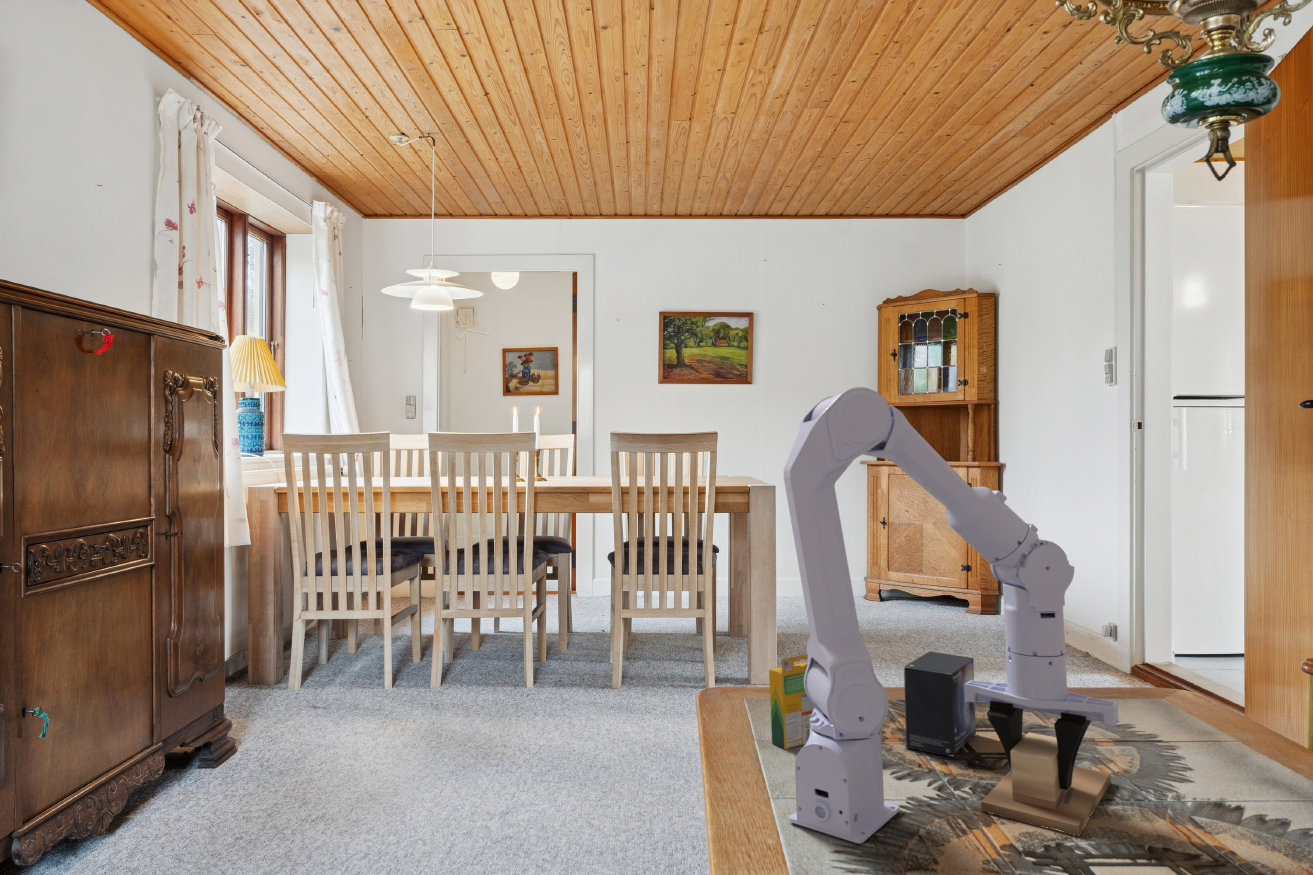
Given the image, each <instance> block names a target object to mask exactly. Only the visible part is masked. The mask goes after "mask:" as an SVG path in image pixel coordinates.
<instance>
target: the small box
mask: <svg viewBox="0 0 1313 875" xmlns="http://www.w3.org/2000/svg"><path fill="white" fill-rule="evenodd" d="M974 663H975V662H974V658H973V657H971V656H970V657H969V656H963V655H956V654H951V653H950V654H949V653H943V652H938V651H931V650H930V651H928V652H926V653H925V654H923V655H921V656H919V657H918V658H916V659H914V660H912V661H911V662H909V663H907V664H906V665H904V666H903V681H904V683H903V685H904V688H903V689H904V707H905V708H904V709H905V710H904V712H905V713H904V717H905V718H904V719H905V722H904V723H905V735H904V736H905V745H904V746H905V748H906V749H912V750H916V749H917V751H921V752H925V751H926V753H930V752H932V753H931V754H935V753H937V754H936V755H940V754H942V755H941V756H944V755H955V754H956V753H957V752H958V751H959V750H960V749H961V748H962V747H963V746H964V745H965V744H966V743H967V742H968V741H969V740H970V739H971V738H972V739H973V738H974V737H975V736H976V735H977V724H976V702H968V701H965V683H967V682H968V681H970V680H973V681H975V670H974V668H975V666H974V665H975V664H974ZM975 734H976V735H975ZM974 735H975V736H974ZM973 736H974V737H973ZM972 739H971V740H972ZM971 740H970V741H971ZM970 741H969V742H970ZM969 742H968V743H969ZM968 743H967V744H968ZM967 744H966V745H967ZM966 745H965V746H966ZM965 746H964V747H965ZM964 747H963V748H964ZM963 748H962V749H963ZM962 749H961V750H962ZM961 750H960V751H961ZM960 751H959V752H960ZM959 752H958V753H959ZM958 753H957V754H958ZM957 754H956V755H957ZM956 755H955V756H956Z"/></svg>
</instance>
